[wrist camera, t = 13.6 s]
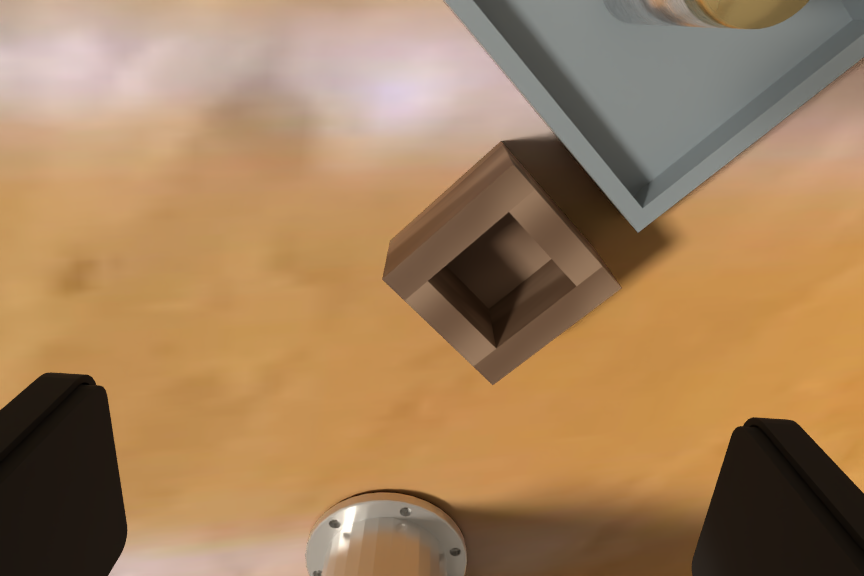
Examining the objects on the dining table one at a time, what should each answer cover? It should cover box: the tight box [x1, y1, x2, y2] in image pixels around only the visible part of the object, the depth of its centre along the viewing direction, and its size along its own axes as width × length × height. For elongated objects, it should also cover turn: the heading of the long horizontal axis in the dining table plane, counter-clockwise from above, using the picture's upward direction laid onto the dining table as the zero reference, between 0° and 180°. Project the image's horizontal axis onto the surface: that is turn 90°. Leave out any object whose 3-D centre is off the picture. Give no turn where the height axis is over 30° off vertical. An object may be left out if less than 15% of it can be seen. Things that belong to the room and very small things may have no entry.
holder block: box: [382, 142, 621, 385], centre depth 35 cm, size 9×9×6 cm
